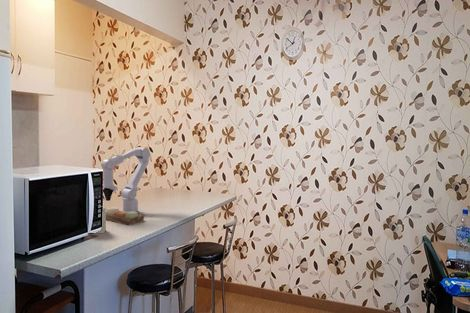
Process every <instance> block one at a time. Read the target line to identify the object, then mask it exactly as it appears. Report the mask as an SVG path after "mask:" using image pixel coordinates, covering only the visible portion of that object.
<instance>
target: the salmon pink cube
mask: <svg viewBox="0 0 470 313" xmlns="http://www.w3.org/2000/svg"><path fill="white" fill-rule="evenodd" d="M120 211H121V210H120ZM125 213H126V212H124V211H123V210H122V211H121V212H117V213H116V215H117V216H125Z"/></svg>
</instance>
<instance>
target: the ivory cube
mask: <svg viewBox="0 0 470 313" xmlns="http://www.w3.org/2000/svg"><path fill="white" fill-rule="evenodd" d="M119 211H120V209H119V208H117V207H109V208H106V213H107V214H116V213H117V212H119Z"/></svg>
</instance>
